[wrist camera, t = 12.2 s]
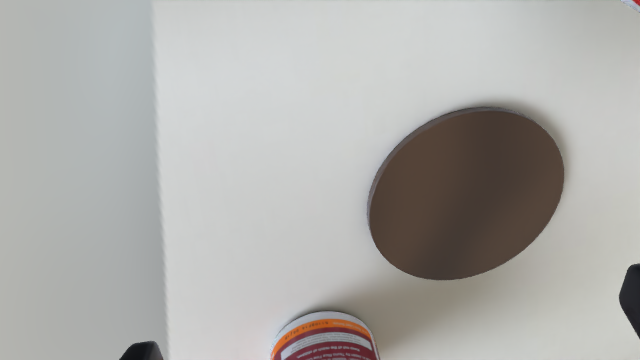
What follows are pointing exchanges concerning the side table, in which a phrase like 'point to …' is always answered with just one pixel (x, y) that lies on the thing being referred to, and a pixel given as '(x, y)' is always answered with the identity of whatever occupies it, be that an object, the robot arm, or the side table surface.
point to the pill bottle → (325, 339)
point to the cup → (633, 4)
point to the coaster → (465, 193)
